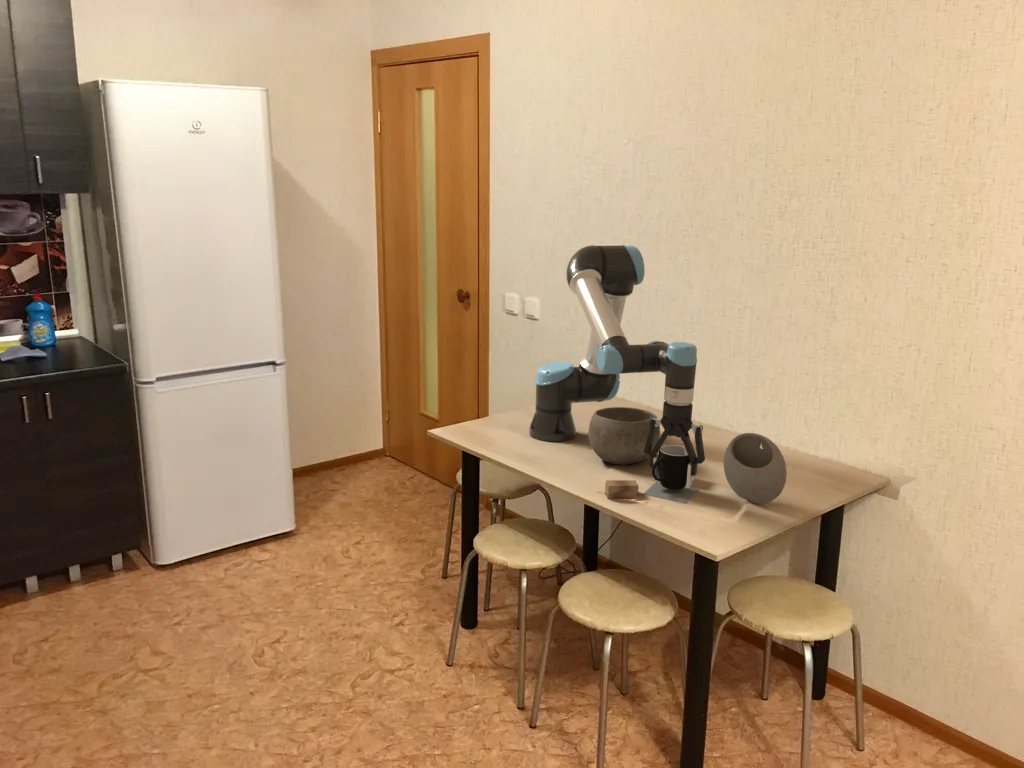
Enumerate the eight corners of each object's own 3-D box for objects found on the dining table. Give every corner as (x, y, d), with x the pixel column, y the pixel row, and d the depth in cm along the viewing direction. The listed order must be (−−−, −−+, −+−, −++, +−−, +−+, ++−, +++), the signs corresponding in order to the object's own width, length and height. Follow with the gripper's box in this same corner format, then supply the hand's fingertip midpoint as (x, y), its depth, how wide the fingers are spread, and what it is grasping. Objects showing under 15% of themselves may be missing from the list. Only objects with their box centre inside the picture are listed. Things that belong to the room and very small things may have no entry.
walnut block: (607, 500, 224) (608, 485, 223) (604, 494, 228) (605, 480, 227) (637, 499, 225) (638, 485, 224) (634, 494, 229) (635, 480, 228)
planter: (713, 494, 230) (719, 428, 225) (728, 488, 234) (735, 423, 230) (774, 515, 216) (781, 446, 212) (789, 509, 221) (797, 440, 216)
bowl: (616, 445, 268) (619, 399, 264) (671, 462, 254) (675, 414, 250) (573, 460, 254) (575, 411, 250) (628, 478, 240) (631, 428, 236)
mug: (675, 477, 236) (678, 442, 233) (696, 488, 228) (700, 453, 225) (640, 484, 230) (643, 448, 227) (661, 495, 222) (664, 459, 220)
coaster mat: (642, 497, 226) (642, 494, 226) (657, 483, 237) (657, 480, 236) (685, 506, 221) (686, 503, 221) (699, 491, 231) (699, 489, 231)
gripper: (634, 398, 224) (629, 479, 230) (714, 411, 214) (707, 495, 220) (644, 392, 231) (638, 471, 236) (722, 404, 221) (715, 486, 226)
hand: (671, 482), depth 228 cm, fingers closed on mug, 9 cm apart
